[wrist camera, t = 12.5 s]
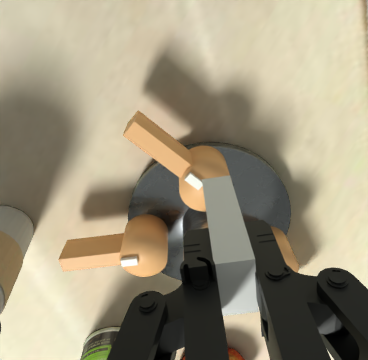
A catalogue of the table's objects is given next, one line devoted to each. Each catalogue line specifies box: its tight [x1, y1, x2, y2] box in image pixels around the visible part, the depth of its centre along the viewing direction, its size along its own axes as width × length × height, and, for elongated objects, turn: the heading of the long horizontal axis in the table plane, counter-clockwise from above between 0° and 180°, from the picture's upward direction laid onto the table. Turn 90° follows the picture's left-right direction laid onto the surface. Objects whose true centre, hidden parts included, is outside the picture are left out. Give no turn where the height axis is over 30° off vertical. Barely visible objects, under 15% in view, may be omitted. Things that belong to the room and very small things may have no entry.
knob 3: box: [271, 226, 299, 273], centre depth 39 cm, size 11×5×5 cm, turn 28°
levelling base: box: [128, 142, 291, 280], centre depth 35 cm, size 18×18×11 cm
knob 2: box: [123, 111, 232, 211], centre depth 32 cm, size 11×5×5 cm, turn 50°
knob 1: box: [59, 214, 168, 277], centre depth 36 cm, size 11×5×5 cm, turn 98°
